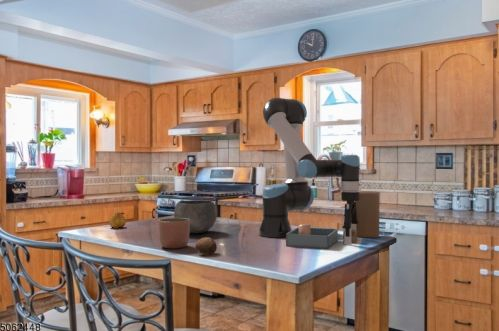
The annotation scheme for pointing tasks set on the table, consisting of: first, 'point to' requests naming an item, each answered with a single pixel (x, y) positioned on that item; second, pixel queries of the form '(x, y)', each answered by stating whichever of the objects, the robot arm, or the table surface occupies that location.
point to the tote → (312, 238)
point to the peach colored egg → (305, 229)
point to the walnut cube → (352, 236)
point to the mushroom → (206, 246)
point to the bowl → (197, 214)
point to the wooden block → (368, 215)
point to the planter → (174, 232)
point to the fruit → (117, 220)
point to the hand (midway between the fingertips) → (350, 241)
